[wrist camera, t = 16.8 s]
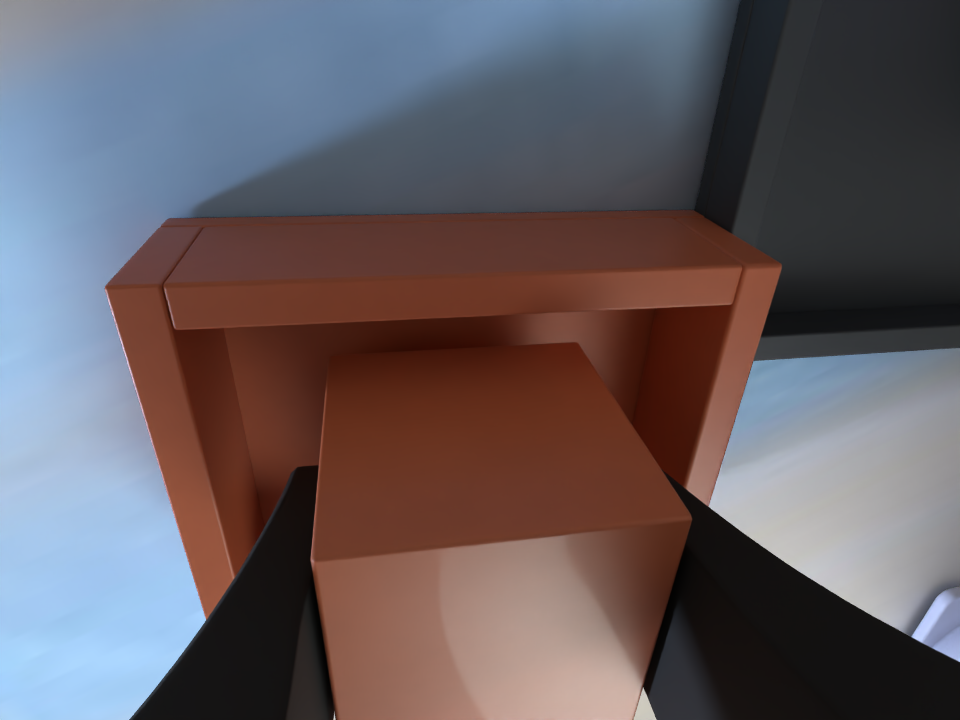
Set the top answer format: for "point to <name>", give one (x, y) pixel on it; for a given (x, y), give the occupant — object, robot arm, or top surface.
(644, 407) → the terracotta bin
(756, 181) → the charcoal tray
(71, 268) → the top surface
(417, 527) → the terracotta block
